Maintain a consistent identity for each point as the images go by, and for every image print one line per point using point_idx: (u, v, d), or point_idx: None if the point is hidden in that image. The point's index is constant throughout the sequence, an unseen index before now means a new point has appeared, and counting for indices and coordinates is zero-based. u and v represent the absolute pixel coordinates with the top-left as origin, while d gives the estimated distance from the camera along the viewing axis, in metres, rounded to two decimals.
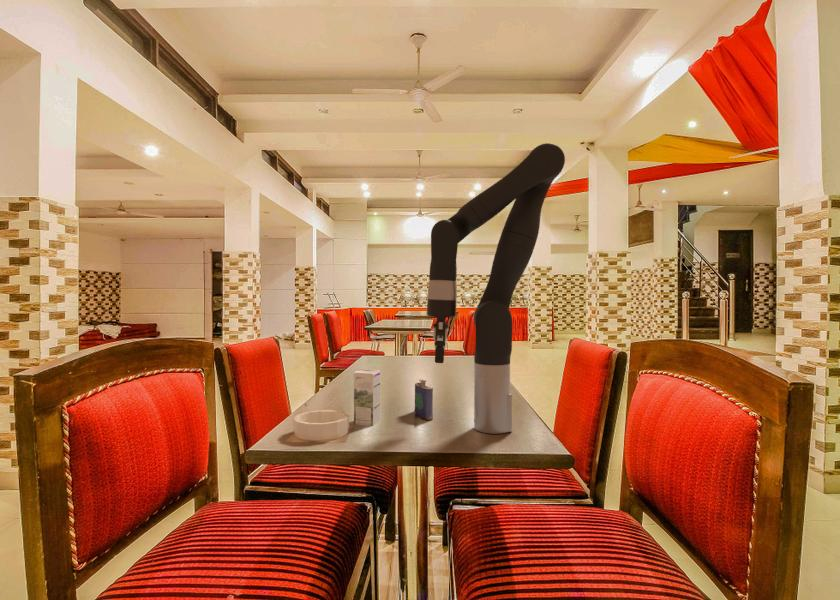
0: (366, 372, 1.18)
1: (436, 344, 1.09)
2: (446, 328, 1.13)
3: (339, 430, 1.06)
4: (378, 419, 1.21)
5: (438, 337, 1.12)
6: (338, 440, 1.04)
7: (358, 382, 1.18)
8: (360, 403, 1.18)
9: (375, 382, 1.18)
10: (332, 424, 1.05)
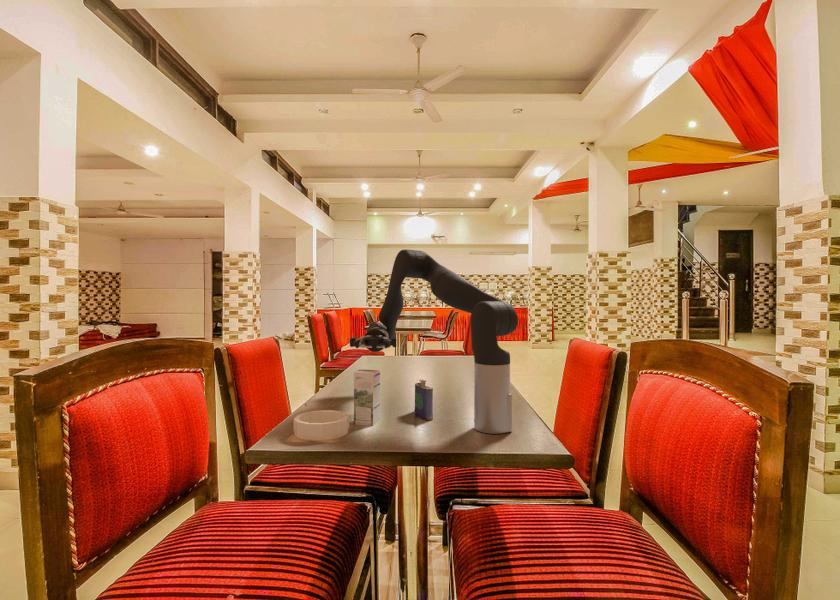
0: (366, 372, 1.18)
1: (350, 345, 1.36)
2: None
3: (339, 430, 1.06)
4: (378, 419, 1.21)
5: None
6: (338, 440, 1.04)
7: (358, 382, 1.18)
8: (360, 403, 1.18)
9: (375, 382, 1.18)
10: (332, 424, 1.05)
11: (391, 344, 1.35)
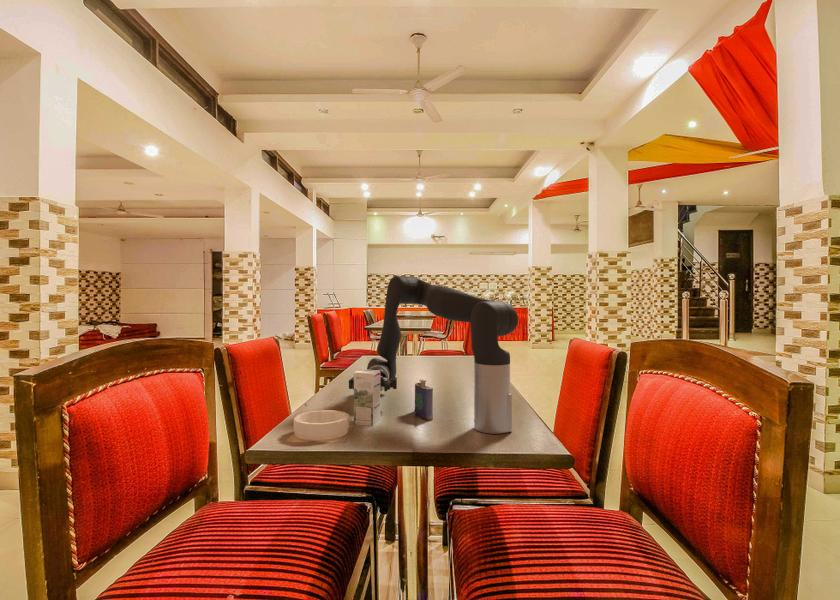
0: (366, 372, 1.18)
1: (349, 387, 1.32)
2: None
3: (339, 430, 1.06)
4: (378, 419, 1.21)
5: None
6: (338, 440, 1.04)
7: (358, 381, 1.18)
8: (360, 403, 1.18)
9: (375, 382, 1.18)
10: (332, 424, 1.05)
11: (391, 386, 1.31)
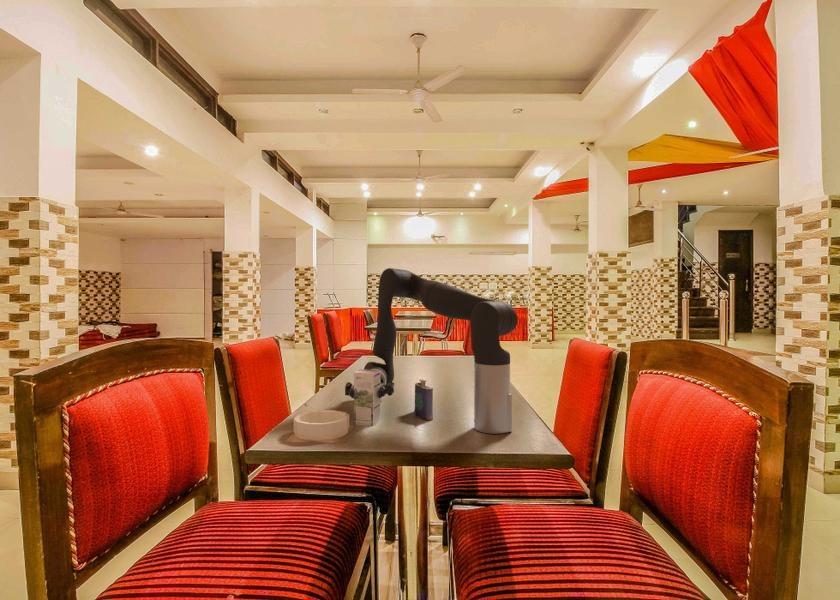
0: (366, 372, 1.18)
1: (345, 393, 1.23)
2: None
3: (339, 430, 1.06)
4: (378, 419, 1.21)
5: None
6: (338, 440, 1.04)
7: (358, 381, 1.18)
8: (361, 403, 1.18)
9: (375, 382, 1.18)
10: (332, 424, 1.05)
11: (386, 392, 1.22)
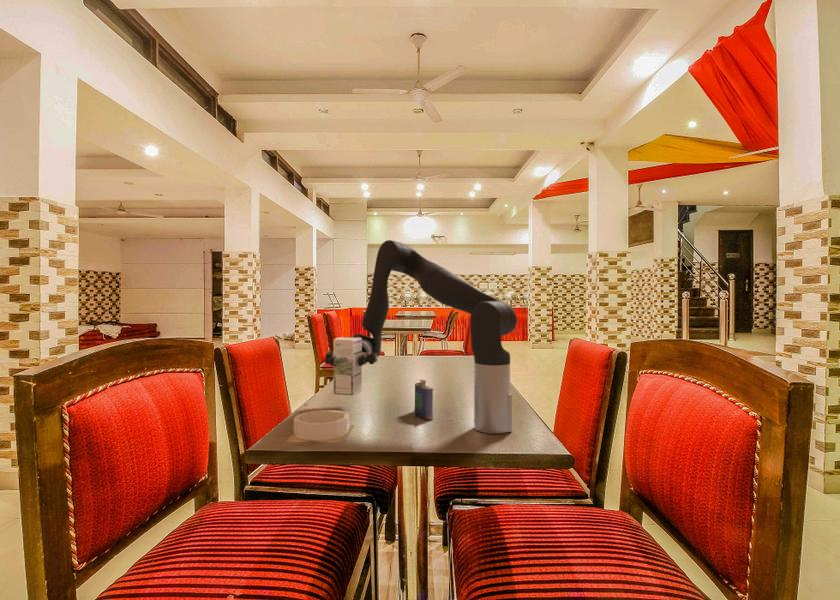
0: (346, 339, 1.14)
1: (325, 362, 1.19)
2: None
3: (339, 430, 1.06)
4: (359, 388, 1.17)
5: None
6: (338, 440, 1.04)
7: (338, 348, 1.14)
8: (340, 371, 1.14)
9: (355, 349, 1.14)
10: (332, 424, 1.05)
11: (367, 360, 1.18)
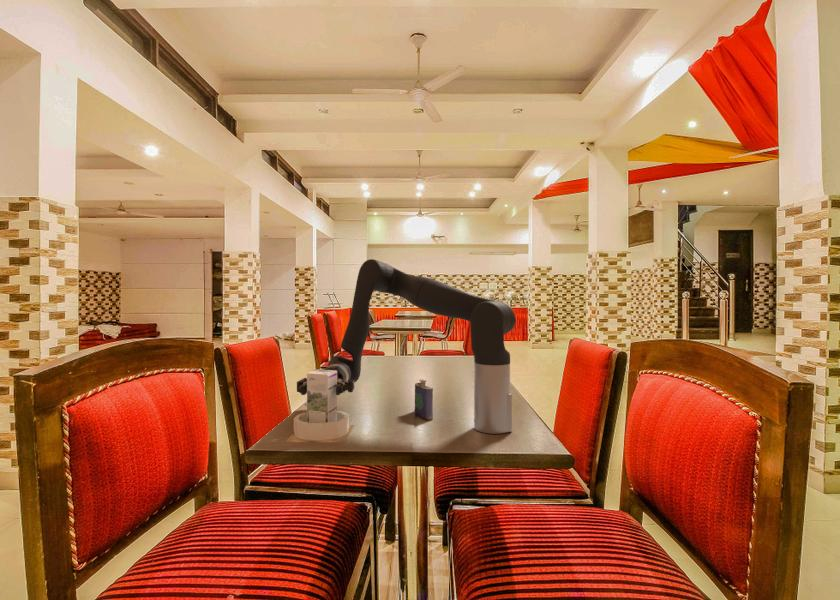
0: (320, 373, 1.08)
1: None
2: None
3: (339, 430, 1.06)
4: None
5: None
6: (338, 440, 1.04)
7: (312, 383, 1.08)
8: (314, 407, 1.08)
9: (330, 383, 1.08)
10: (332, 424, 1.05)
11: (346, 389, 1.12)
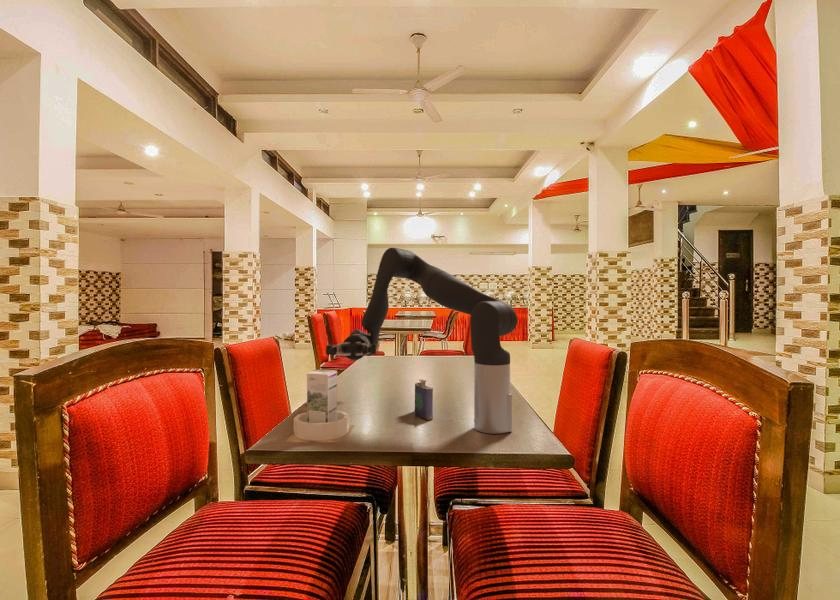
0: (320, 373, 1.08)
1: (326, 353, 1.27)
2: None
3: (339, 430, 1.06)
4: None
5: None
6: (338, 440, 1.04)
7: (312, 383, 1.08)
8: (314, 407, 1.08)
9: (330, 383, 1.08)
10: (332, 424, 1.05)
11: (370, 350, 1.26)
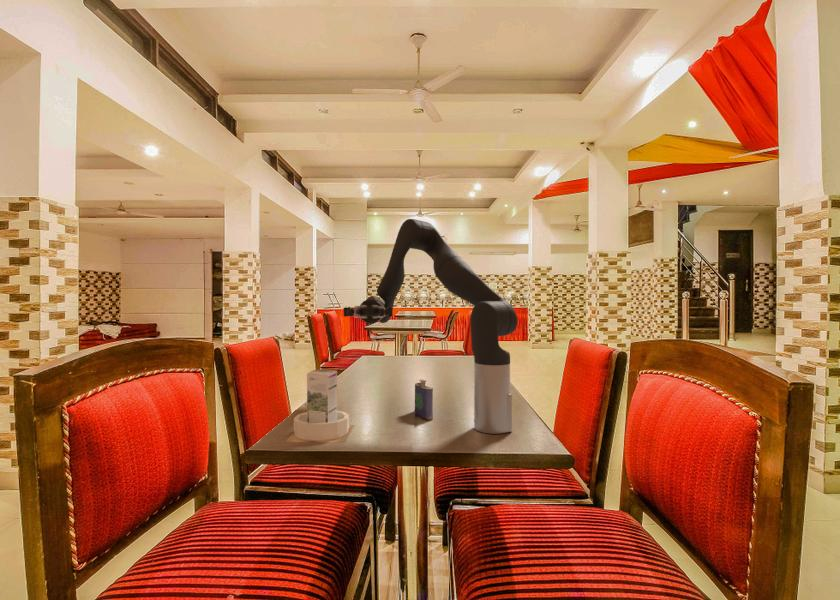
0: (320, 373, 1.08)
1: None
2: None
3: (339, 430, 1.06)
4: None
5: None
6: (338, 440, 1.04)
7: (312, 383, 1.08)
8: (314, 407, 1.08)
9: (330, 383, 1.08)
10: (332, 424, 1.05)
11: (387, 313, 1.28)
